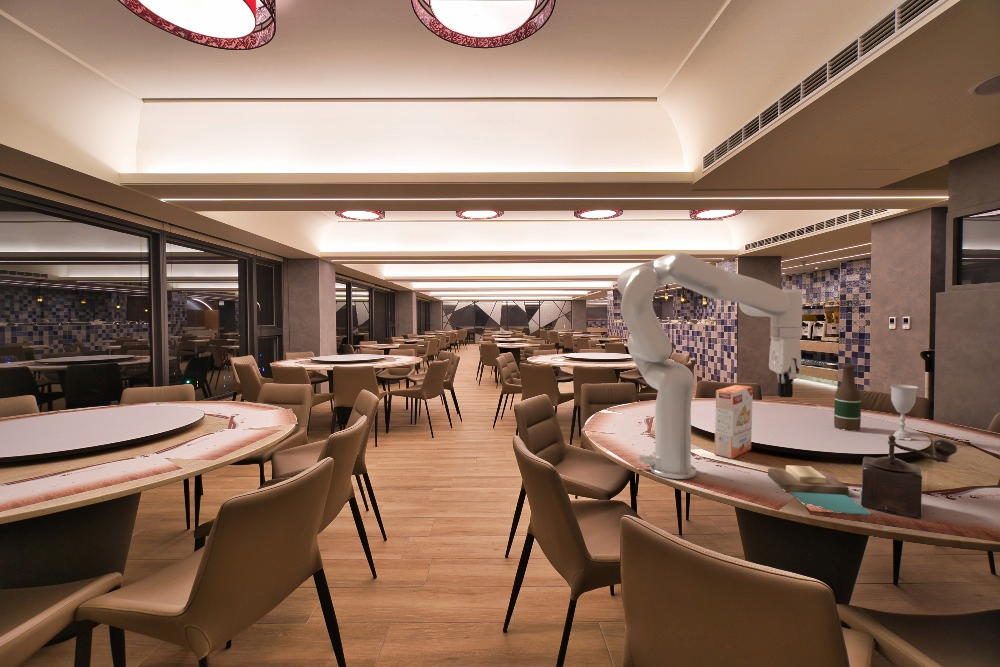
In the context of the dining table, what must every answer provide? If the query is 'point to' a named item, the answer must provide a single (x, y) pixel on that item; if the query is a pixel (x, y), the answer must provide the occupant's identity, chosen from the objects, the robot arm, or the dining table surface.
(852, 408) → the beer bottle
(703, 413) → the dining table surface
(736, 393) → the cracker box
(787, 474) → the board
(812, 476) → the maple tile
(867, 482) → the brown manual coffee grinder
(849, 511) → the teal mat
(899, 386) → the chalice
